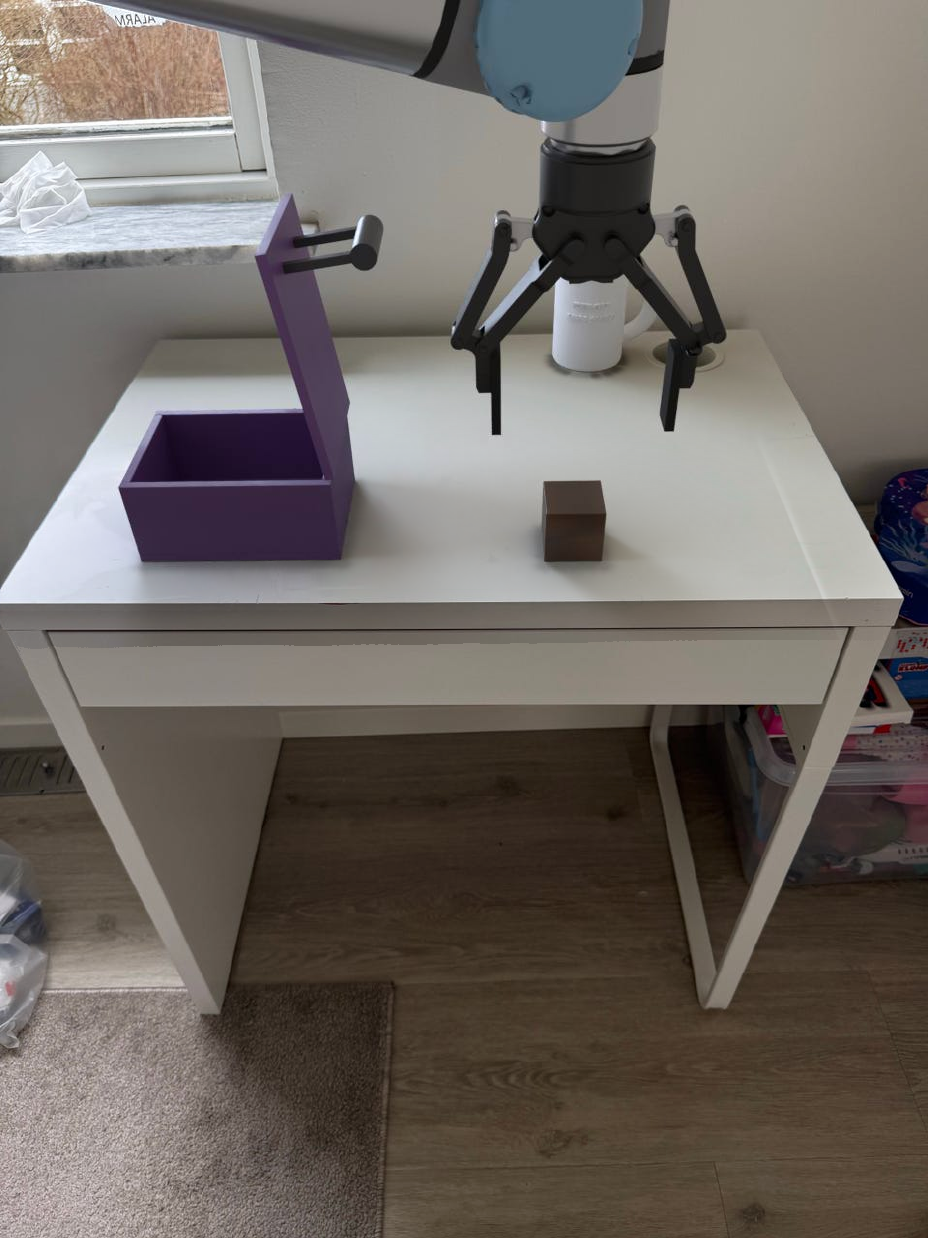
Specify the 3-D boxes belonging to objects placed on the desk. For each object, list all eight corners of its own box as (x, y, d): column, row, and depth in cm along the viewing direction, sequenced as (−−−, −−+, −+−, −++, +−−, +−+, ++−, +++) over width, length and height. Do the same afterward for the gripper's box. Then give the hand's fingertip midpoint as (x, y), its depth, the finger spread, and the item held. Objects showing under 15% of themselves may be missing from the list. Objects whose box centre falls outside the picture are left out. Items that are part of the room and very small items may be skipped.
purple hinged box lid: (254, 255, 65) (364, 237, 64) (282, 194, 74) (379, 177, 73) (325, 480, 77) (418, 468, 76) (341, 403, 86) (425, 391, 86)
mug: (661, 369, 107) (675, 264, 99) (557, 374, 107) (562, 269, 99) (647, 337, 113) (658, 235, 105) (548, 342, 113) (552, 240, 105)
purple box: (141, 561, 83) (117, 487, 78) (175, 481, 92) (156, 410, 87) (340, 559, 83) (330, 484, 77) (355, 479, 92) (346, 407, 87)
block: (544, 561, 82) (546, 514, 78) (541, 527, 85) (543, 480, 82) (602, 561, 82) (606, 513, 78) (596, 526, 85) (600, 479, 82)
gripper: (778, 115, 64) (728, 397, 78) (410, 126, 65) (427, 404, 79) (807, 148, 58) (748, 446, 72) (403, 160, 59) (423, 452, 73)
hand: (581, 425), depth 76 cm, fingers open, 13 cm apart
